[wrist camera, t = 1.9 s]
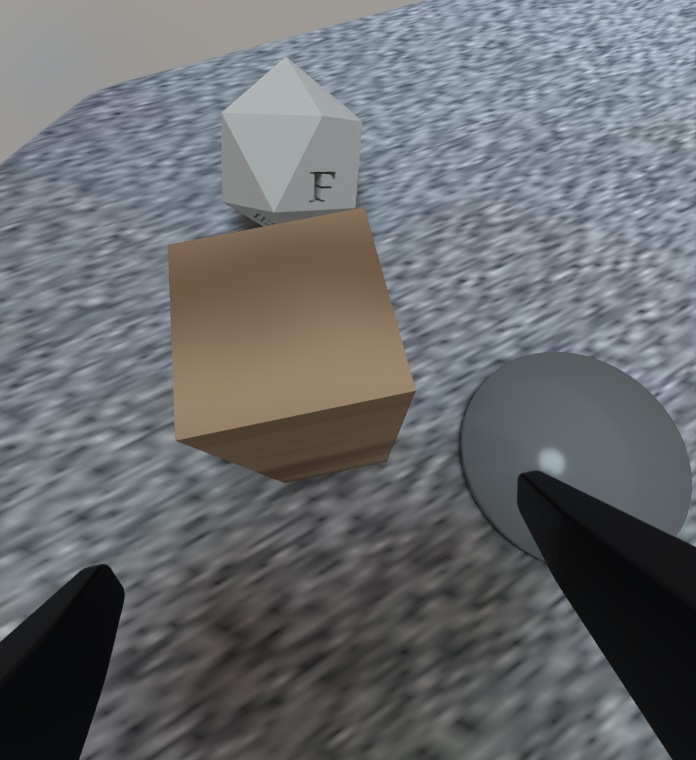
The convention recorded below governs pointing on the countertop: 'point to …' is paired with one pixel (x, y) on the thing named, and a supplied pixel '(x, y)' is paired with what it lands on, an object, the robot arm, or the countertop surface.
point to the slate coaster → (573, 442)
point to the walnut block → (287, 348)
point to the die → (289, 150)
